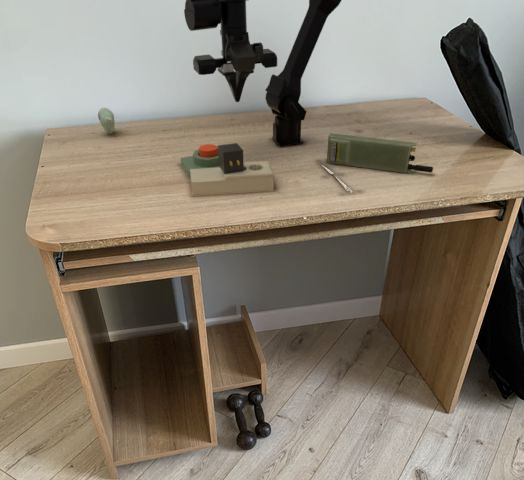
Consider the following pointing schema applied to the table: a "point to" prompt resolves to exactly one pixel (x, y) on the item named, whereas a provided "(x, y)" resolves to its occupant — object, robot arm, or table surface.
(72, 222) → the table surface
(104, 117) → the pale green oval lump
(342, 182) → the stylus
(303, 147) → the table surface
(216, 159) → the switch box
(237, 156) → the charger head
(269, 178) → the electrical outlet
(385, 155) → the handheld radio
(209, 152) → the switch button
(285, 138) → the robot arm
